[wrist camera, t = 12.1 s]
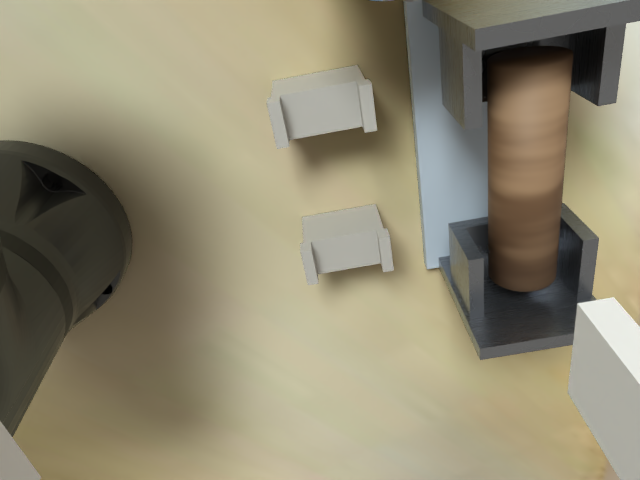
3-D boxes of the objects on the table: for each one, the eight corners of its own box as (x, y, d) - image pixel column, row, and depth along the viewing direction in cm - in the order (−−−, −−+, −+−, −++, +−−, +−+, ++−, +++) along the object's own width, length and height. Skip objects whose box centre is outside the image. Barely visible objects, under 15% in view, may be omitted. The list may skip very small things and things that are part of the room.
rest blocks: (305, 248, 44) (307, 285, 39) (269, 81, 37) (266, 103, 32) (382, 235, 43) (393, 270, 39) (361, 64, 36) (371, 83, 32)
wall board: (424, 262, 45) (427, 269, 44) (403, 0, 34) (406, 2, 33) (552, 240, 45) (557, 246, 44) (572, -32, 34) (579, -31, 33)
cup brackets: (435, 260, 45) (480, 359, 35) (418, -3, 34) (474, 29, 24) (540, 242, 45) (616, 337, 34) (556, -29, 34) (673, -9, 24)
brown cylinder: (539, 249, 39) (568, 284, 35) (479, 260, 39) (501, 296, 35) (551, 41, 31) (589, 57, 27) (476, 55, 31) (503, 73, 28)
